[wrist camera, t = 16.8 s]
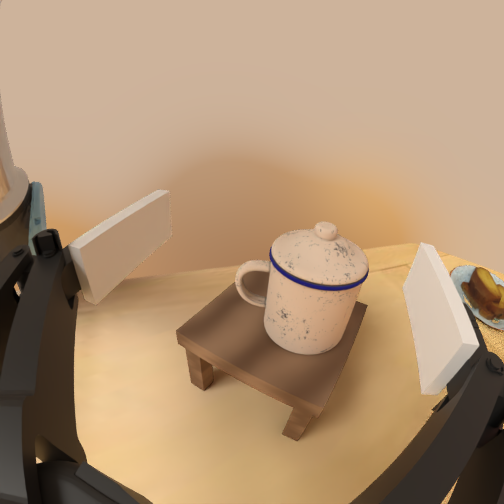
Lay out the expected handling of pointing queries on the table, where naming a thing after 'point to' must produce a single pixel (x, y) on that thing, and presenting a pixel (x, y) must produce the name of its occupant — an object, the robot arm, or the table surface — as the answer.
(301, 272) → the teacup with lid
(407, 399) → the table surface
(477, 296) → the food on plate
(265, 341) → the walnut footstool
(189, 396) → the table surface
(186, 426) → the table surface
